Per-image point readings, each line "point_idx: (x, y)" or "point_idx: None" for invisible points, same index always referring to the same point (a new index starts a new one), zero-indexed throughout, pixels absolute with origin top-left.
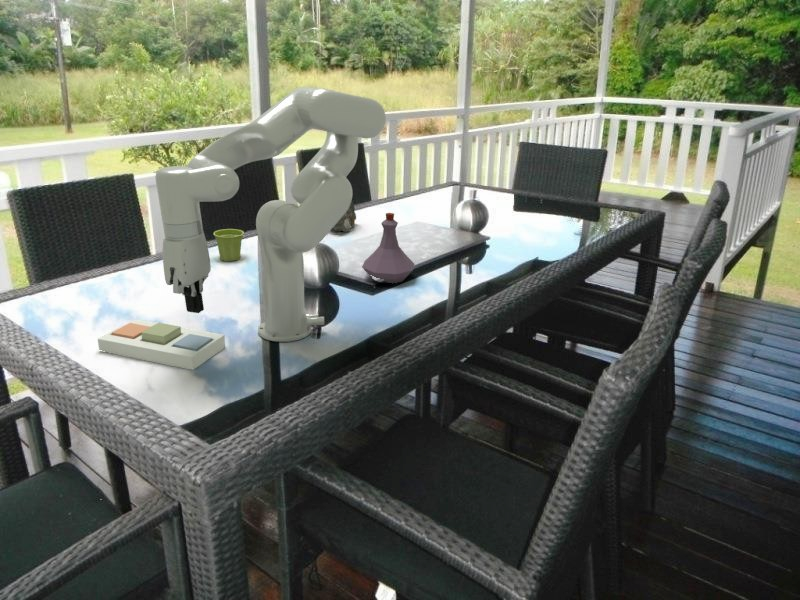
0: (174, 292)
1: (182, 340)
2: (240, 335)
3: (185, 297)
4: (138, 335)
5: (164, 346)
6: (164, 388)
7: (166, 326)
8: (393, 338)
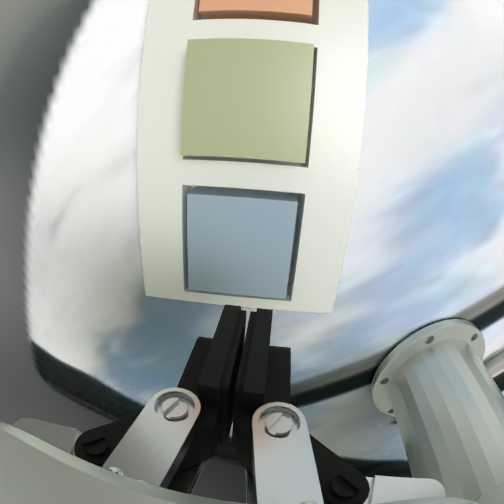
0: (21, 427)
1: (228, 210)
2: (408, 291)
3: (204, 369)
4: (230, 12)
5: (172, 165)
6: (67, 256)
7: (284, 101)
8: (389, 474)
